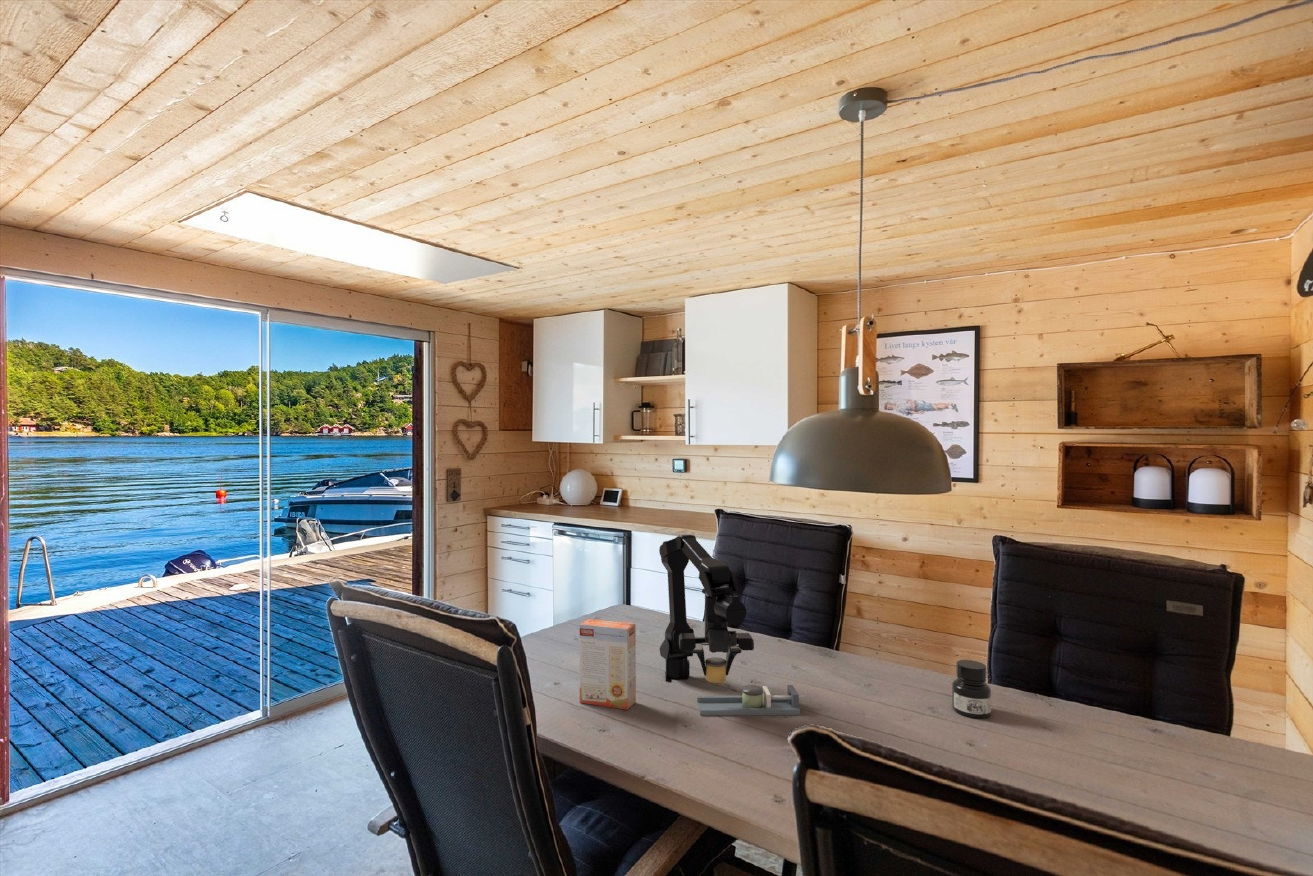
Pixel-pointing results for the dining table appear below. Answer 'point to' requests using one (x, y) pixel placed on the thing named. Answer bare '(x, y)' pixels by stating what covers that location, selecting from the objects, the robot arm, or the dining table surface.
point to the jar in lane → (752, 696)
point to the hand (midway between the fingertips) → (715, 675)
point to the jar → (715, 670)
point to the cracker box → (607, 663)
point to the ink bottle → (971, 690)
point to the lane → (734, 707)
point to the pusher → (779, 697)
